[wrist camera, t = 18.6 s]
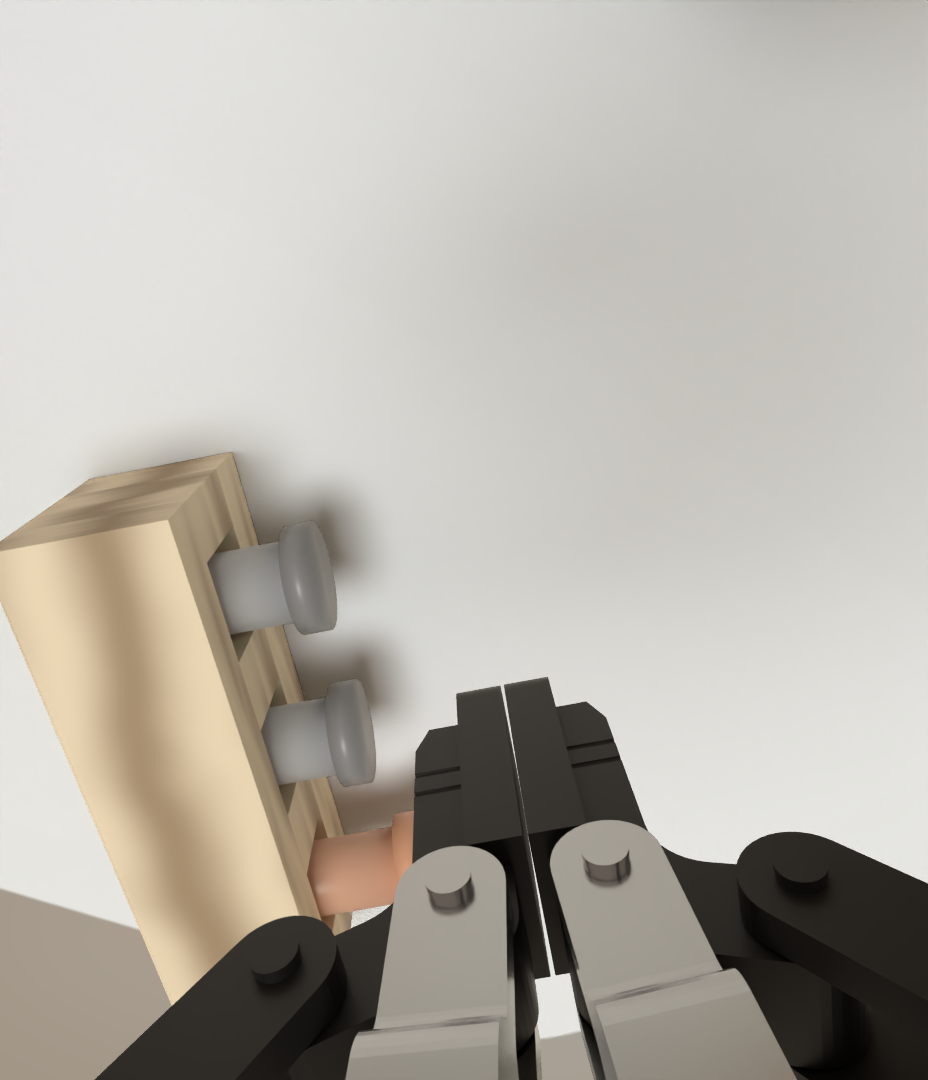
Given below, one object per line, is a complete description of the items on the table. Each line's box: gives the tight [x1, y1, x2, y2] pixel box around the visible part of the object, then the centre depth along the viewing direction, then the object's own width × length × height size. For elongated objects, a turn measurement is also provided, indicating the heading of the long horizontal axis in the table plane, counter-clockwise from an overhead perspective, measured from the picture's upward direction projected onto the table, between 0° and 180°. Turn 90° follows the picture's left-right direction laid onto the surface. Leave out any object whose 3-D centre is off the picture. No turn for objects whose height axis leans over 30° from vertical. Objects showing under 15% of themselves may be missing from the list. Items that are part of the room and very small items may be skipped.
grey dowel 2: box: [261, 679, 376, 787], centre depth 38 cm, size 11×5×5 cm, turn 101°
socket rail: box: [0, 452, 352, 1005], centre depth 39 cm, size 7×26×10 cm, turn 11°
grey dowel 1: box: [207, 521, 337, 635], centre depth 36 cm, size 11×5×5 cm, turn 101°
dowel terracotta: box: [307, 810, 414, 917], centre depth 41 cm, size 11×5×5 cm, turn 101°
